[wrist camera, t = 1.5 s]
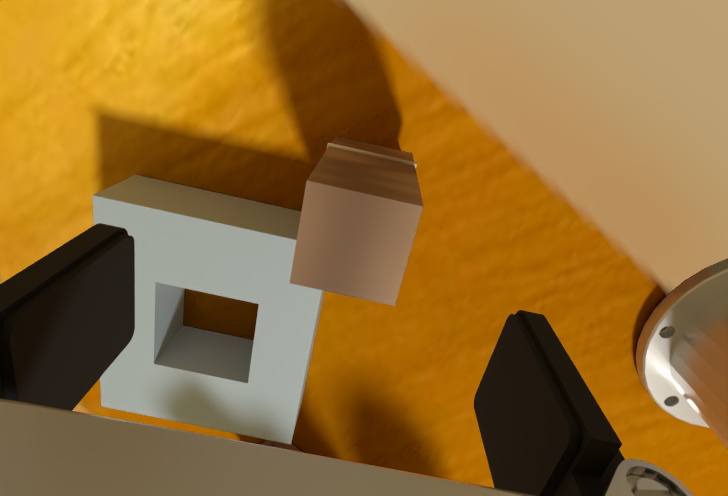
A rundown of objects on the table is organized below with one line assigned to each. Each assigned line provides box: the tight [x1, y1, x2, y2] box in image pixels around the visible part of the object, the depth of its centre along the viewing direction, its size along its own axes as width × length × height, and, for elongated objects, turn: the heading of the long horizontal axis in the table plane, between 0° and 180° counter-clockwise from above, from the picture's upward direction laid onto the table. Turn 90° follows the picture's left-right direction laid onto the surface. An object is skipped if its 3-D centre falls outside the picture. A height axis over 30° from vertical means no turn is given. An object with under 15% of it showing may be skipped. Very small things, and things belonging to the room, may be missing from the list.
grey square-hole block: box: [93, 175, 325, 444], centre depth 27 cm, size 12×14×4 cm
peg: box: [290, 136, 423, 306], centre depth 20 cm, size 4×4×10 cm
